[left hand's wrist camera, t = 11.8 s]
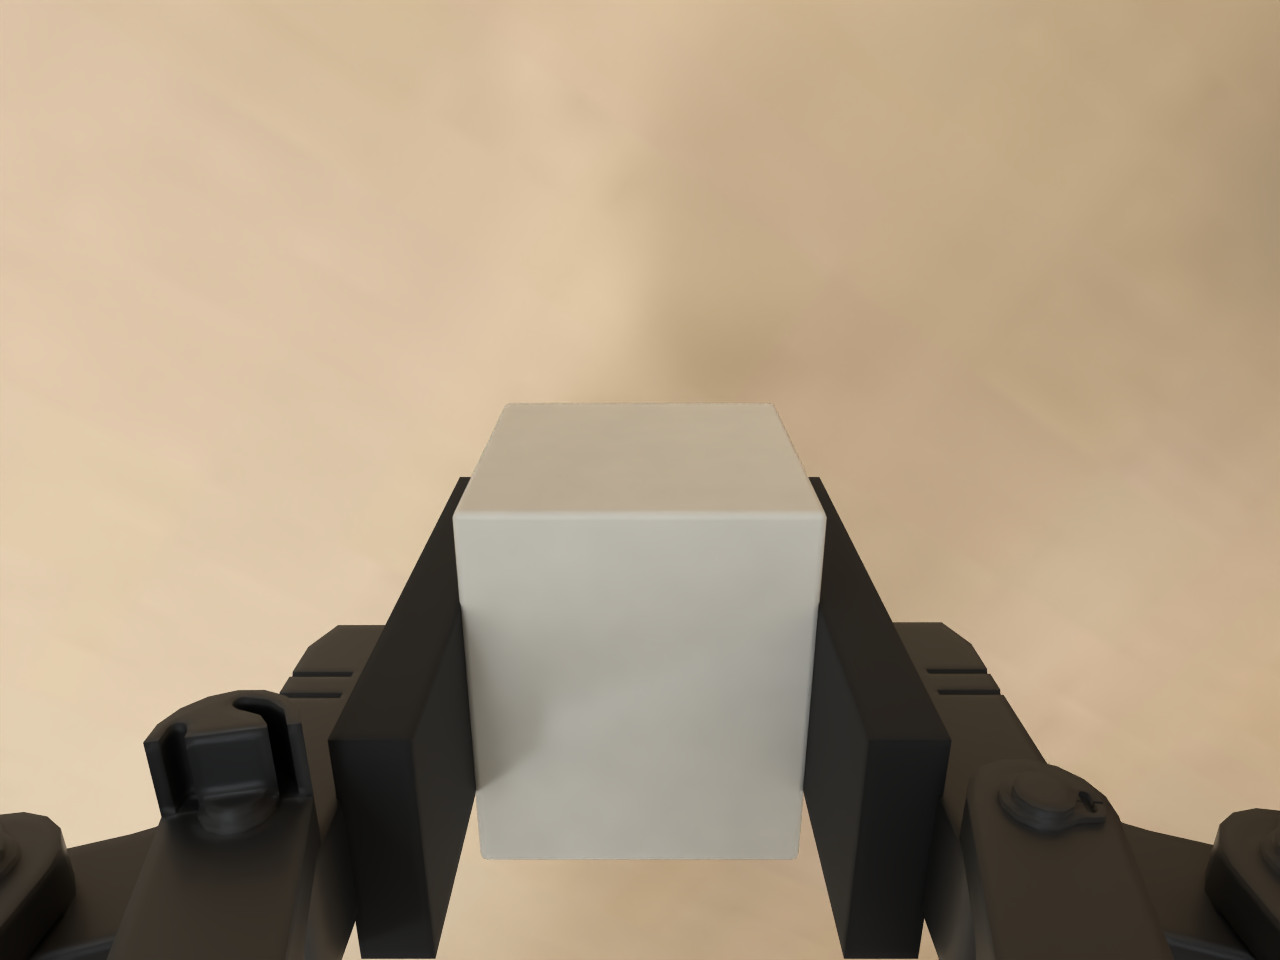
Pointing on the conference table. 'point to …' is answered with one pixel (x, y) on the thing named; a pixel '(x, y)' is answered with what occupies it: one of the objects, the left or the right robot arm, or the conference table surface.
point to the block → (639, 631)
